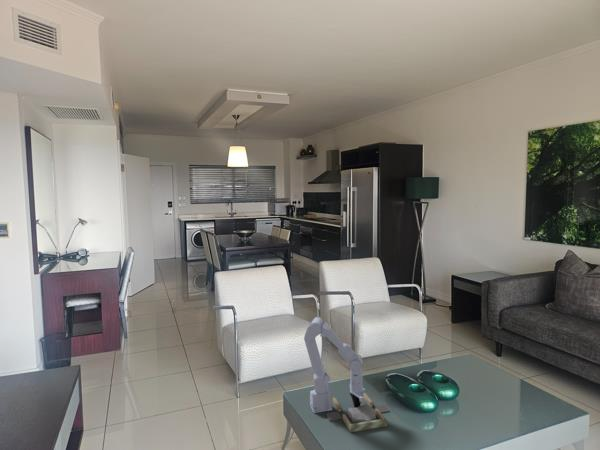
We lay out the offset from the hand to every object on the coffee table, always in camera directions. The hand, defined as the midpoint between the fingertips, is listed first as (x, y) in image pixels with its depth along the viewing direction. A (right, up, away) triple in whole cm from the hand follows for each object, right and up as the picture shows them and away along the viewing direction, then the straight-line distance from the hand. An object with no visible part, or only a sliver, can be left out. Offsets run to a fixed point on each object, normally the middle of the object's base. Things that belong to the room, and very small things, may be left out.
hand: (356, 408), depth 188 cm
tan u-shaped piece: (0, -2, -1) cm, 2 cm away
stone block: (+2, -2, -6) cm, 6 cm away
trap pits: (0, -2, -1) cm, 2 cm away
